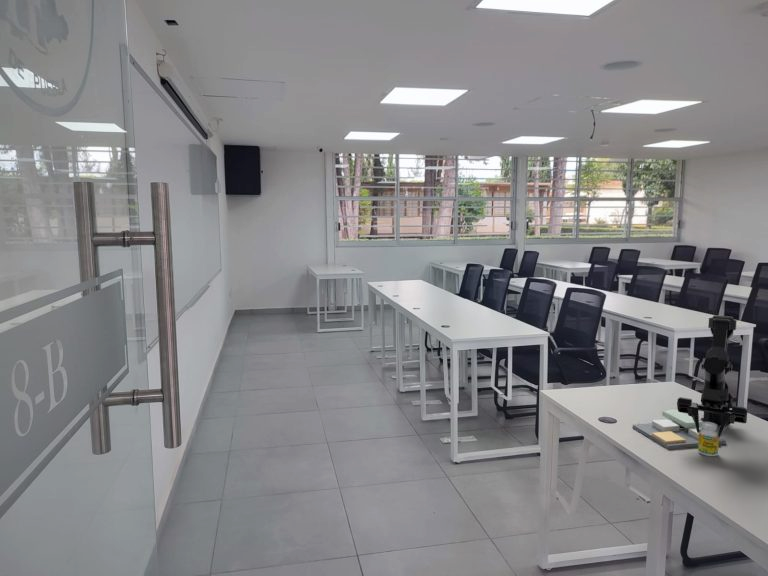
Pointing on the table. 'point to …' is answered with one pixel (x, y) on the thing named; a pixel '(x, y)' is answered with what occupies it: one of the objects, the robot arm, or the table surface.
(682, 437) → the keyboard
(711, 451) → the supplement bottle
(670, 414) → the green key
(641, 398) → the table surface
